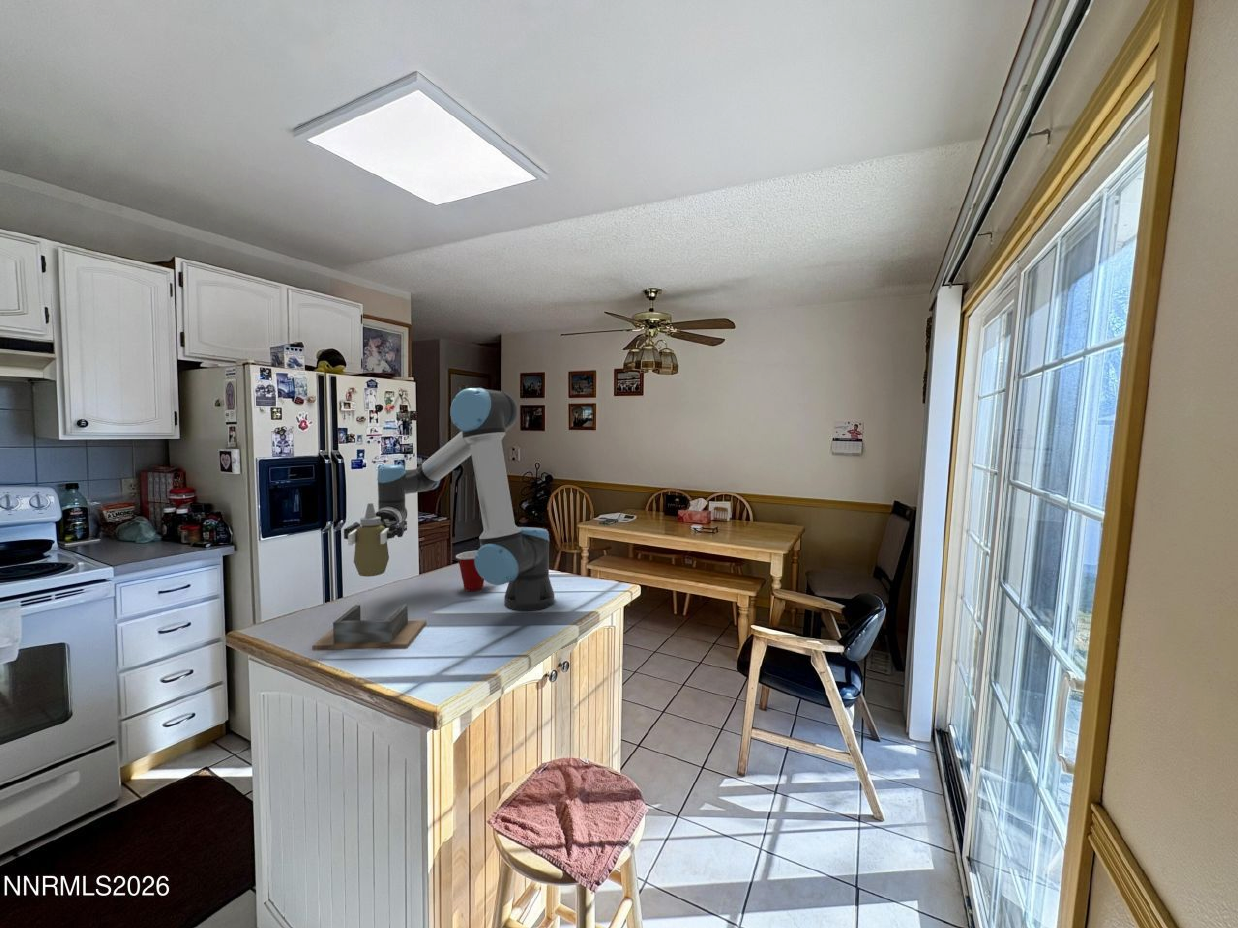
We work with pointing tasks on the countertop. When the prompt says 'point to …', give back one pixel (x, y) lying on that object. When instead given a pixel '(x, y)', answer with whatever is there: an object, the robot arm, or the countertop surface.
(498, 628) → the countertop surface
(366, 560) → the squeeze bottle
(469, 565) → the plastic cup
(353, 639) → the u rest
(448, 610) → the countertop surface
